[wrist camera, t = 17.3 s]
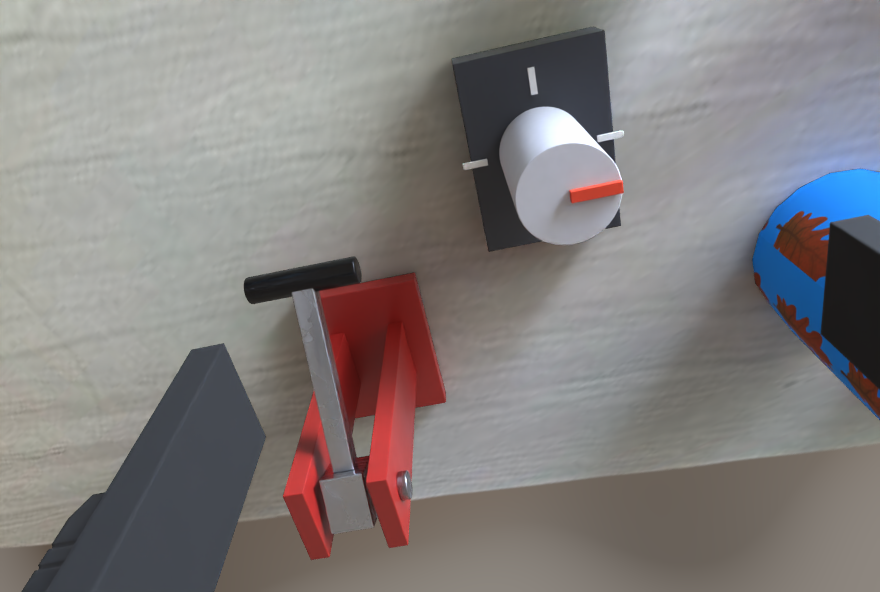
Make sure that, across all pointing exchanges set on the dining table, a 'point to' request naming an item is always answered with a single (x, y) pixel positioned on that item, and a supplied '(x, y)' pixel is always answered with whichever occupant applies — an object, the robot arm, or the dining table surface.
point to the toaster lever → (325, 384)
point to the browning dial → (559, 177)
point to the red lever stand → (370, 403)
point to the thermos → (814, 263)
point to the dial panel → (523, 88)
